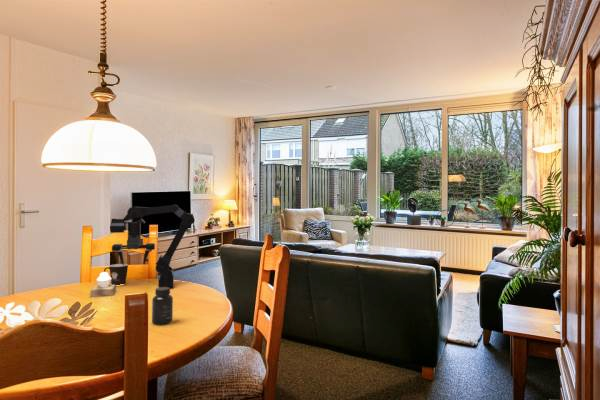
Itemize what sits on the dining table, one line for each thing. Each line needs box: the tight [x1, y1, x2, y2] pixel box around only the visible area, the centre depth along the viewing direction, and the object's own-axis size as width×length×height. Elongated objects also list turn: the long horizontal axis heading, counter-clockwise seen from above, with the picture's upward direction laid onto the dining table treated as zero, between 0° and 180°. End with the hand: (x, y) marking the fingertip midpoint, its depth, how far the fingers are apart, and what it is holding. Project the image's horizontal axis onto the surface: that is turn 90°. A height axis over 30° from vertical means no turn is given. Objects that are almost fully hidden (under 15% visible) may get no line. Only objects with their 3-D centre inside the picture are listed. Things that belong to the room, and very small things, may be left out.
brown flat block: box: [90, 284, 117, 298], centre depth 165 cm, size 9×9×3 cm
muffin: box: [96, 271, 112, 288], centre depth 165 cm, size 6×6×7 cm
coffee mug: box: [103, 263, 129, 285], centre depth 185 cm, size 12×9×10 cm
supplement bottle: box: [151, 287, 174, 326], centre depth 127 cm, size 7×7×12 cm
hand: (133, 264), depth 175 cm, fingers open, 9 cm apart
